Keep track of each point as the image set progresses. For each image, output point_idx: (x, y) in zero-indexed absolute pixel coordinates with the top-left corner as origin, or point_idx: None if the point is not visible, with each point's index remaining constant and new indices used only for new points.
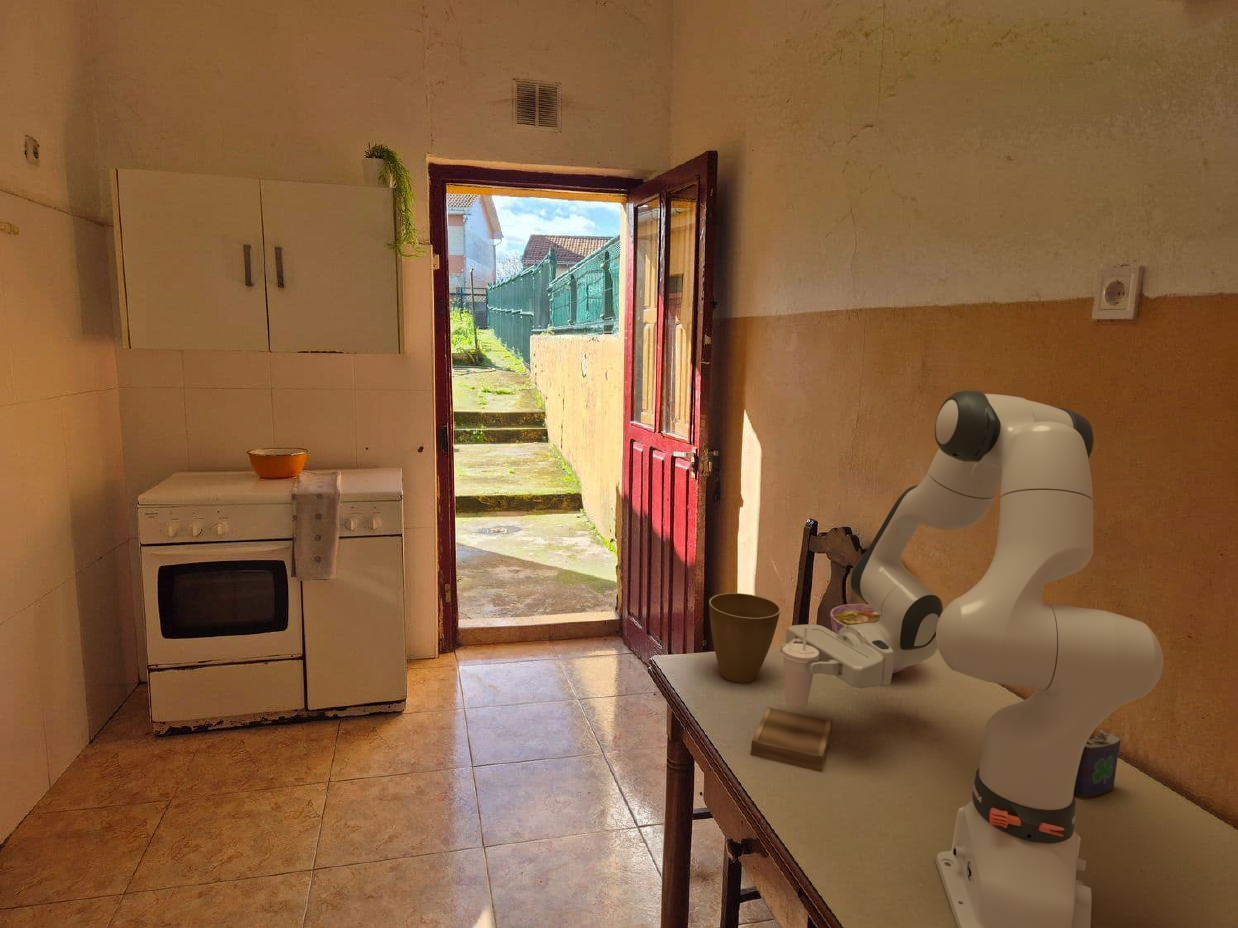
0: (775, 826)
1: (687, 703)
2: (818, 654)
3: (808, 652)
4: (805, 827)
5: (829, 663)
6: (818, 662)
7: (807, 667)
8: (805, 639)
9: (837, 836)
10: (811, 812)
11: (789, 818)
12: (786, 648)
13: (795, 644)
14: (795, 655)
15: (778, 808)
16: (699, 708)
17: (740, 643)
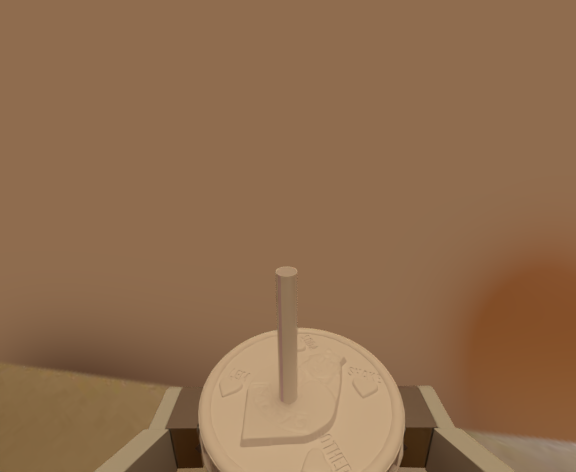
0: (112, 380)
1: (523, 440)
2: (210, 456)
3: (249, 398)
4: (69, 416)
5: (98, 468)
6: (164, 421)
7: None
8: (278, 339)
9: (3, 451)
10: (76, 451)
11: (103, 407)
12: (340, 349)
13: (390, 413)
14: (261, 345)
15: (131, 406)
16: (503, 455)
17: None
